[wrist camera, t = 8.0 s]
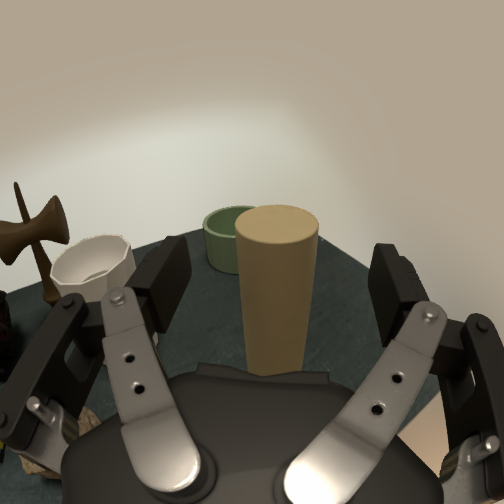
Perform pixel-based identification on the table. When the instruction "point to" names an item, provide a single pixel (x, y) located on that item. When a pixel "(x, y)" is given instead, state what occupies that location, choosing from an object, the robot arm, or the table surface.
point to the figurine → (5, 330)
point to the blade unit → (276, 285)
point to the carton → (1, 451)
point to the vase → (94, 268)
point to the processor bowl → (223, 238)
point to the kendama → (35, 239)
